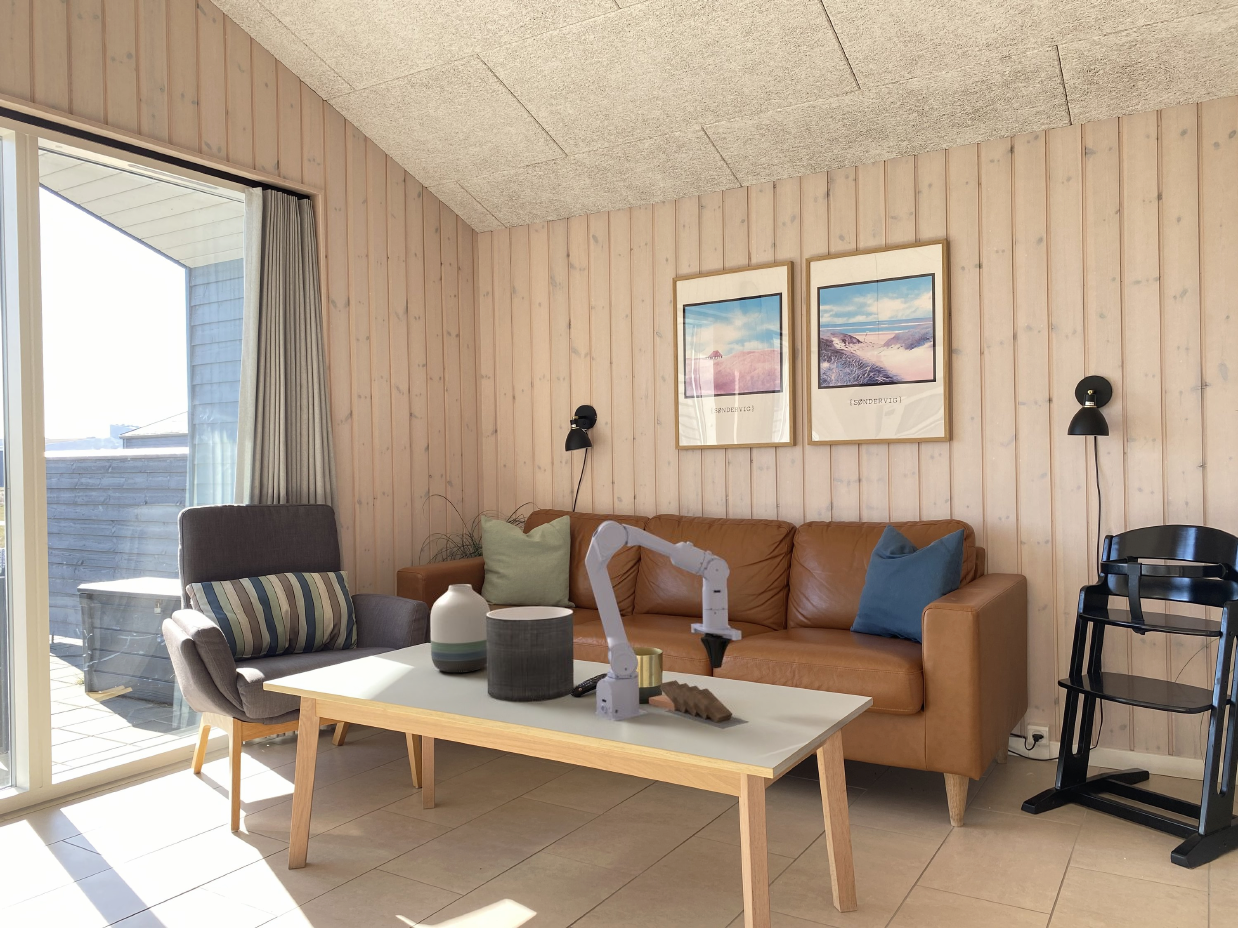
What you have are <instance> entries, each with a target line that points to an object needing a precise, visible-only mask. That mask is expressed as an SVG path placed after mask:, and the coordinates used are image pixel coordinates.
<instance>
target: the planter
mask: <svg viewBox="0 0 1238 928" xmlns="http://www.w3.org/2000/svg"><path fill="white" fill-rule="evenodd" d="M486 640H487V664H486V670H487V674H486V676H487V695H489V696H490V697H492V698H494V699H496V700H501V701H507V702H522V703H523V702H524V703H525V702H542V701H543V702H544V701H549V700H555V699H558V698H562V697H565V696H568V695H570V694H571V693H572V692H573V691H574V690H575V684H574V683H575V682H574V681H575V680H574V678H575V677H574V675H575V674H574V670H575V667H574V664H575V663H574V662H575V661H574V611H573V610H572V609H570V608H565V607H557V606H520V607H519V606H518V607H507V608H501V609H500V608H499V609H495V610H492V611H491V610H490V612H488V613H487V614H486ZM573 689H574V690H573ZM572 690H573V691H572ZM571 691H572V692H571Z"/></svg>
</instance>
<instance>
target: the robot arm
mask: <svg viewBox="0 0 1238 928" xmlns="http://www.w3.org/2000/svg"><path fill="white" fill-rule="evenodd" d="M590 541H591V542H590V543H589V544H590V545H589V547H588V550H587V553H586V556H585V559H584V562H585V563H584V564H585V567H586V571H587V574H588V578H589V581H590V586H591V588H592V589H591V590H592V592H593V595H594V598H595V603H596V607H597V608H598V613H599V616H600V620H601V623H602V627H603V631H604V633H605V637H606V642H607V645H608V652H607V659H608V662H609V665H610V666H609V667H610V668H609V669H608V671H607V672H606V676H605V677H604V678H602V679H600V680H598V682H597V684H596V691H595V695H596V697H595V698H596V700H595V701H596V711H595V712H594V715H595V716H598V717H602V718H605V719H608V720H611V721H614V722H615V721H616V722H617V721H621V720H622V721H623V720H627V719H631V718H635V717H638V716H644V715H647V714H648V711H646V710H643V709H640V685H639V683H640V681H639V680H640V679H639V677H640V676H639V671H637V670H638V667H639V659H638V656H637V655H636V654H635V651H634V648H633V647H632V646H631V645H630V643H629V640H628V637H627V634H626V631H625V627H624V624H623V620H622V617H621V613H620V609H619V607H618V604H617V599H616V595H615V592H614V589H613V586H612V582H611V579H610V576H609V572H608V568H607V566H608V563H609V562H610V561H611V559H612V557H613V556H614V554H615V553H617V552H618V551H619V550H620V549H621V548H622V547H624V545H626V546H627V547H634V546H641V547H643V548H646V549H649V550H651V551H653V552H657V553H659V554H662V555H664V556H667V557H669V559H670V561H671V564H672V565H673V566H675V567H677V568H680V569H683V570H685V571H687V572H689V573H692V574H694V575H696V576H699V575H701V577H702V589H701V590H702V623H698V622H697V623H691V624H690V627H691V628H690V629H691V633H692V634H693V633H695V634H697V633H698V634H703V635H704V636H702V637H700V641H701V643H702V645H703V647H704V649H705V650H706V651H705V652H706V653H707V657H708V660H709V663H710V668H711V669H721V668H722V665H723V661H724V656H725V653H726V650H727V648H728V646H729V645H730V642H731V641H740V640H742V630H737V629H735V628H732V627H731V626H730V625H729V615H728V613H729V611H728V609H729V606H728V605H729V603H728V602H729V601H728V587H727V584H728V583H727V582H728V581H727V579H728V578H729V575H730V571H731V570H730V569H729V565H728V563H727V562H726V561H725V559H723V558H721V557H720V556H717V555H715V554H712V551H711V550H702V549H701V548H698V547H695V546H694V543H692V542H690V541H687V542H685V541H680V542H678V543H676V544H673V543H671V542H670V541H667V540H665V539H663V538H661V537H658V536H657V535H654V534H652V533H650V532H648V531H645V530H643V529H641V528H639V527H636V526H632V525H629V524H625V523H621V524H620V523H618V522H617V521H615V520H605V521H603V522H602V523H601V524H600V525H598V527H597V529H596V530H595V531H594V532H593V534H592V537H591V540H590Z"/></svg>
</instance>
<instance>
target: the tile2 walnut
mask: <svg viewBox="0 0 1238 928" xmlns="http://www.w3.org/2000/svg"><path fill="white" fill-rule="evenodd" d="M697 690H701V689H700V688H699V687H698V686H697V685H693V686H690V687H687V688H683V689H682V690H681V693H680V695H681V696H682V697H683V698H684V699H685V700H686V701H687V702H688V703H689V704H690V705H691V706H692V707H693V708H694V709H695V710H696V711H697V712H698V713H699V714H700V715H701V716H702V718H703V719H704V720H706V719H710V717H709V716H708V715H707V714H706V712H705V711H704V710H703V709H702V708H701V707H700V706H699V705H698V704H697V703H696V702H695V701H694V700H693V699H692V698H691V695H692V692H693V691H697Z"/></svg>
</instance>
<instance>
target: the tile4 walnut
mask: <svg viewBox="0 0 1238 928" xmlns="http://www.w3.org/2000/svg"><path fill="white" fill-rule="evenodd" d="M679 684H680V683H679V682H678V681H677V680H670V681H666V682H661V685H660V689H659V690H661V692H662V693H663V694H664V695H666V696H667V697H668V698H669V699H670V700H671V701H672V702H673V703H674V704H675V705H676V706H677V707H678V708H679V709H680V710H681V711H682V712H683V713H687V712H689V711H688V710H687V709H686V708H685V707H684V706H683V705H682V704H681V703H680V702H679V701H678V699H677V698H676V697H675V696H674V695H673V694H672V693H671V692H670V690H671V688H672V686H675V685H679Z"/></svg>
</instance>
